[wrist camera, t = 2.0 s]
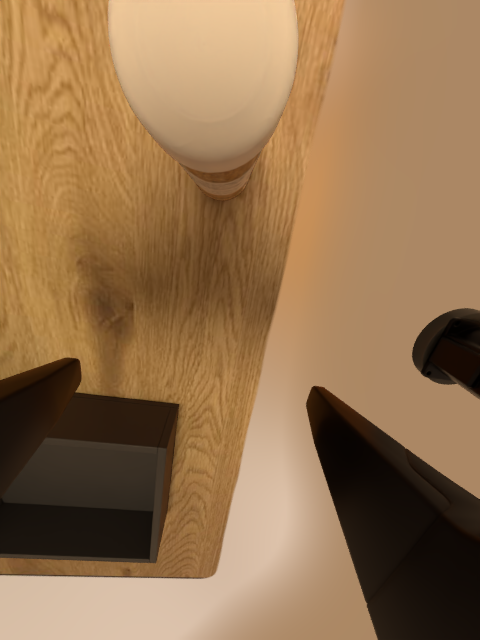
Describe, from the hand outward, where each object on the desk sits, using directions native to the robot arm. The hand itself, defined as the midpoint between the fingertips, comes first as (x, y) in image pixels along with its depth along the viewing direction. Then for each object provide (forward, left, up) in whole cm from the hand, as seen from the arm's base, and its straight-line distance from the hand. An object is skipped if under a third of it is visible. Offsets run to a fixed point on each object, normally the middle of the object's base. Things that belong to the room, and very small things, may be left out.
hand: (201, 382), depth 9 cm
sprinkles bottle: (+1, -10, -14) cm, 17 cm away
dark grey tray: (+13, +23, -13) cm, 30 cm away
